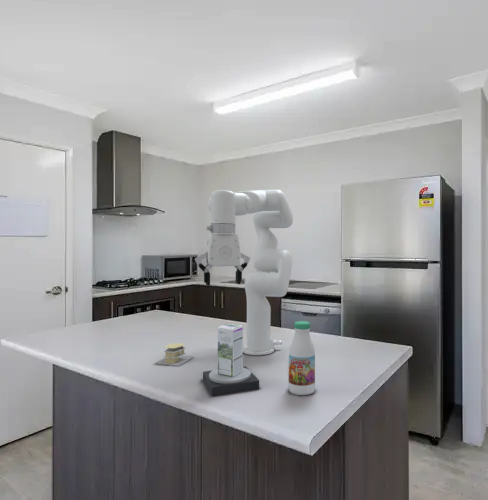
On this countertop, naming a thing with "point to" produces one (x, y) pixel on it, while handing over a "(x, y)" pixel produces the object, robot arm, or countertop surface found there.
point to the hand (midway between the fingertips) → (223, 284)
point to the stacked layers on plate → (174, 355)
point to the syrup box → (230, 350)
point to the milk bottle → (302, 361)
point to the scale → (230, 382)
